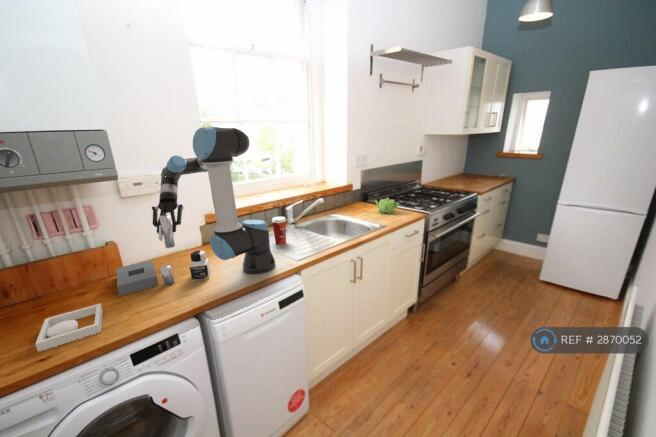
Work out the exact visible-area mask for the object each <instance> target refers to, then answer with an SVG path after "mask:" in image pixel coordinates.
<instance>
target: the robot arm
mask: <svg viewBox="0 0 656 437" xmlns="http://www.w3.org/2000/svg"><path fill="white" fill-rule="evenodd" d="M249 148H250V137H249V136H248V134H247V132H245V130H243V129H242V128H240V127H237V126H211V125H210V126H205V127H204V126H203V127H202V126H201V127H199V128H198V129H197V130H196V131H194V135H193V138H192V150H193V153H194V155H195V157H190V158H184V157H183V156H181V155H178V154H177V155H173V156H170V158H169V159H168V161H167V162H166V166H165V167H163V168H162V170H161V174H160V178H161V179H160V189H159V203H158V204H157V205H156V206H151V209H152V225H153V227H155V228H156V234H158V237H157V238H158V240H159V241H160V242H161V241H162V242H163V238H164V237H163V233H162V228H161V223H160V218H159V216H161V215H167V214H168V213H170V214H169V215H170V220H171V225H170V238H171V239H172V240H173V238H174V236H175V233H176V231H177V226H178V225H179V226H180V225H182V214H183V210H184V206H183V204H182V203H179V204H178V192H179V191H178V189H179V186H178V185H179V180H180V178H181V177H182V176H183V175H184V176H185V175H191V174H198V173H207V174H208V179H209V180H208V181H209V185H210V192H211V193H210V194H211V197H212V204H213V209H214V216H215V222H216V225H215V227H214V228H213V233H214V234H213V235H212V236H210V238H209V245H210V248H211V251H212V252H213V254H214V255H215V256H216V257H217V258H218V259H220V260H221V261H228V260H230V259H234V258H237V257H239V256H241V255H243V254H244V258H243V263H242V268H243V271H244V272H245V273H248V274H253V275H257V274H264V273H267V272H271V271H272V270H273V269H274V268H275V267H276V261H275V260H276V259H275V258H274V255H273V253H272V250H271V244H270V241H271V240H270V232H269V231H270V230H269V225H268V222H266V221H264V220H263V219H246V220H245V219H244V220H243V221H242V222H241V223H240V222H239V219H238V213H237V206H236V200H235V193H234V186H233V179H232V178H233V177H232V171H231V164H232V163H233V162H234V158H237V157H239V156H241V155H244V154H245V153H246V152H247V151H248V150H249ZM165 176H166V177H165ZM159 209H160V213H159V214H158V212H159ZM176 209H177V212H176V213H177V214H176V215H175V210H176ZM158 215H159V216H158ZM174 239H175V238H174Z"/></svg>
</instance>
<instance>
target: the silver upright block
mask: <svg viewBox="0 0 656 437" xmlns="http://www.w3.org/2000/svg"><path fill="white" fill-rule="evenodd" d="M159 268H160V269H159V270H160V274H161V277H162V282H163V286H166V287H167V286H171V285H173V284H174V283H175V279H174V274H173V270H172V266H171V265H170V264H165V265H162V266H160V267H159Z"/></svg>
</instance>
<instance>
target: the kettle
mask: <svg viewBox="0 0 656 437" xmlns="http://www.w3.org/2000/svg"><path fill="white" fill-rule="evenodd" d="M373 201H374V203H375V204H376V207H377V208H378V213H380V214H381V215H384V214H388V215H392V214H394V211H395V209H396V208H397V207H399V206H401V205H400V203H399V202H398V203H396V204H395V199H390V198H389V197H386V198H383V199H380V200H379V202H378V200H377V199H373Z"/></svg>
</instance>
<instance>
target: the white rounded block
mask: <svg viewBox="0 0 656 437" xmlns="http://www.w3.org/2000/svg"><path fill="white" fill-rule="evenodd" d="M78 322H79V321H77V319H76V320H67V321H62V322H60V323H57V324H56V325H54V326H52V327H51V328H48V330H47V331H46V336H48V338H51V337H54V336H57V335H60V334H64V333H67V332H70V331H73V330H77V329H79V323H78Z"/></svg>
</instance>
